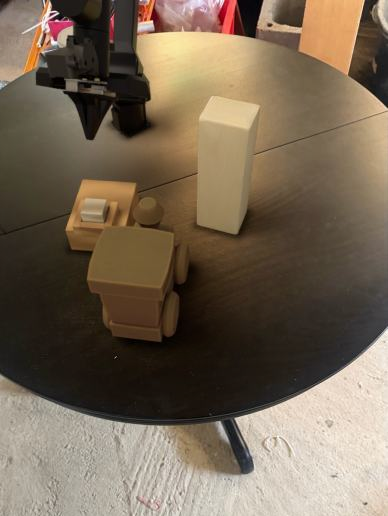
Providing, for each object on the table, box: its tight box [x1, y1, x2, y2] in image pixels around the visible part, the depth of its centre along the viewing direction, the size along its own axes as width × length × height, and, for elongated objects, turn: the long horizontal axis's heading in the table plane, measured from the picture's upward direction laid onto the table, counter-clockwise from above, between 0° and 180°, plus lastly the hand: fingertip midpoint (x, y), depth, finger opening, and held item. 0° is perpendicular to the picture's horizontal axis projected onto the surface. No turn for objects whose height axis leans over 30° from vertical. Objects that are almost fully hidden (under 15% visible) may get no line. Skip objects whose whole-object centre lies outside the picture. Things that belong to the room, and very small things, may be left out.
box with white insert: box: [65, 178, 140, 252], centre depth 84 cm, size 14×10×6 cm
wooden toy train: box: [86, 196, 190, 343], centre depth 71 cm, size 20×11×17 cm, turn 172°
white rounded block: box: [81, 198, 108, 223], centre depth 79 cm, size 4×4×2 cm
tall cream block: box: [196, 95, 261, 235], centre depth 79 cm, size 8×7×21 cm
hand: (89, 140), depth 81 cm, fingers closed
